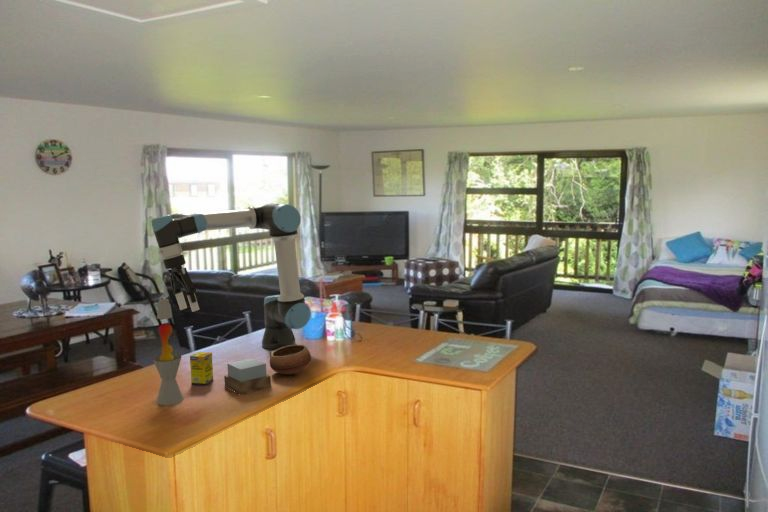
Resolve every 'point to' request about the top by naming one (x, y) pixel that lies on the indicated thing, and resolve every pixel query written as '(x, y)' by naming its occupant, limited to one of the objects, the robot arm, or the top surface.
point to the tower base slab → (247, 384)
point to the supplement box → (201, 368)
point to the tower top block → (246, 369)
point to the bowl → (290, 359)
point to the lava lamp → (167, 360)
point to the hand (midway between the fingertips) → (189, 309)
